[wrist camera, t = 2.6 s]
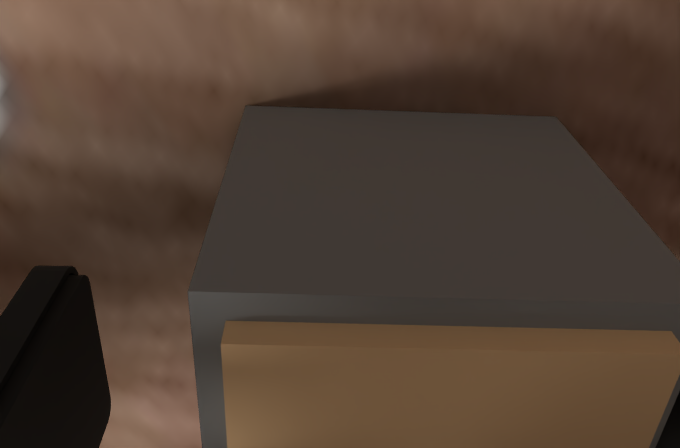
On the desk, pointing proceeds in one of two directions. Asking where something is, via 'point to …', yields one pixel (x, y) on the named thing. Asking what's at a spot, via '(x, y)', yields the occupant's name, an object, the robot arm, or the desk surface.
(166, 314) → the desk surface
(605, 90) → the desk surface
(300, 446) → the doorstop
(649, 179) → the desk surface
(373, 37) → the desk surface
